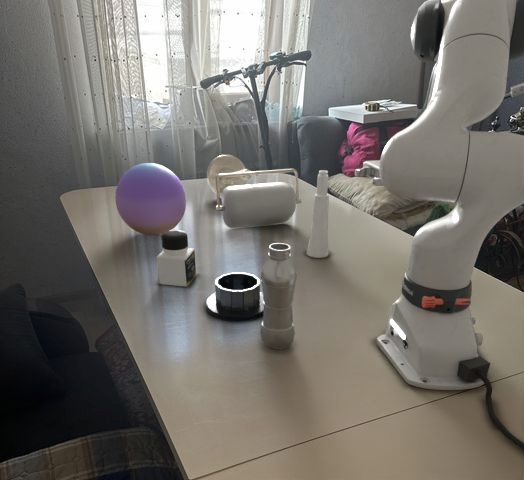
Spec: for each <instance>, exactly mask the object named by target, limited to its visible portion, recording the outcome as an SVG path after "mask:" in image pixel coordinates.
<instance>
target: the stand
mask: <svg viewBox="0 0 524 480" xmlns="http://www.w3.org/2000/svg"><path fill="white" fill-rule="evenodd" d="M214 291H215V292H213V293H211V294H210V295H209V296H208V297H207V299H206V301H205V302H206V303H205V304H206V305H205V306H206V307H205V308H206V311H207V312H208V313H209V315H211V317H214V318H216V319H219V320H222V321H226V322H238V323H239V322H248V321H249V322H250V321H253V320H256V319H259V318H261V317H263V311H264V300H263V292H261V278H259V277H257V276H256V275H255V274H251V273H247V272H229V273H224V274H222V275H220V276H219V277H217V278H215V281H214Z"/></svg>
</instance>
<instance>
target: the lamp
mask: <svg viewBox="0 0 524 480" xmlns="http://www.w3.org/2000/svg"><path fill="white" fill-rule="evenodd" d="M285 173H294V182H295V183H294V184H295V187H293V186H292V185H291V184H289V183H287V182H284V181H280V182H279V181H275V182H263V183H262V182H261V183H251V184H247V181H248V180H250V179H251V178H252V177H253V176H259V175H270V174H285ZM206 181H207V184H208V186H209V188H210V190H211V191H212V192H213V193H214V194H215V195H216V204H217V205H216V206H215V211H216V212H217V213H218V212H222V219H223V223H224V225H226V227H228V228H229V229H242V228H252V227H260V226H270V225H278V224H279V225H280V224H284V223H286V222H288V221H289V220H290V219H291V218H292V217H293V215H294V213H295V212H296V208H297V205H298V204H302V198H300V192H299V174H298V170H297V169H295V168H283V169H282V168H281V169H272V170H256V171H255V170H254V171H251V170H250V169H249V168H246V166H245V164H244V163H243V161H241V159H240V158H239V157H237V156H235V155H233V154H221V155H219V156H217V157H215V158H214V159H213V160H211V162H210V163H209V165H208V167H207V169H206Z"/></svg>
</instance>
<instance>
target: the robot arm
mask: <svg viewBox="0 0 524 480" xmlns="http://www.w3.org/2000/svg"><path fill="white" fill-rule="evenodd" d="M410 41H411V46H412V50H413V54H414V56H415V57H416V58H417V59H418V61H420V62H424V63H429V64H434V63H435V64H434V66H433V68H432V71H431V73H430V74H431V75H430V78H429V82H428V88H427V92H426V95H425V101H424V104H423V107H422V110H421V111H420V113H419V115H418V118H417V119H415V120H414V121H413V122H412V123H411V124H410V125H409V126H407V127H406V128H404V129H402V130H400V131H398V132H396V133H395V134H394V135H393V136H391V138H390V139H388V141H387V143H386V145H385V146H384V148H383V150H382V152H381V155H380V159H378V160H377V159H376V160H366V161H364V162H363V164H362V167H361V168H356V169H355V170H354V176H355V177H357V178H363V177H364V176H365V177H368V178H369V179H372V185H373V186H375V187H384V188H385V189H386V191H388V193H389V194H392V195H396V196H399V197H403V198H407V199H411V200H414V201H429V202H440V203H441V202H443V203H454V204H456V205H455V207H454V208H453V209H451V211H450V212H449V213H448V214H446V215H443V216H442V217H440V218H436V219H434V220H431V221H428V222H427V223H425V224H424V225H422V226H421V227H420V228H419V229H418V230H417V231H416V233H415V234H414V236H413V237H412V243H411V248H410V254H409V261H408V266H407V270H405V273H404V276H403V279H402V282H401V295H400V296H399V297H398V298H397V299H396V300H395V301H394V302H393V303H392V304H391V306H390V311H389V315H388V319H387V324H386V328H385V332H384V333H383V334H381V335H379V336H378V337H377V338H376V341H375V342H376V345H377V346H378V348H379V349H380V350H381V351H382V353H383V354H384V355H385V357H386V358H387V359H388V360H389V362H390V363H391V365H392V366H393V368H394V369H395V370H396V371H397V373H398V374H399V375H400V376H401V378H402V379H403V380H404V381H405V382H406V383H407V384H408V385H410V386H413V387H417V388H421V389H427V390H437V391H462V390H471V389H476V388H479V387H481V386H483V385H484V386H485V396H484V397H485V404H486V408H487V412H488V416H489V418H490V420H491V422H492V423H493V424H494V426H495V427H496V428H497V429H498V430H499V431H500V432H501V433H502V434H503V436H504V437H505V438H506V439H507V440H509V441H510V442H511V443H512V444H514V445H515V446H516V447H518V448H519V449H521V450H523V451H524V442H523V441H521V440H520V439H519V438H518V437H516V436H515V435H514V434H513V433H512V432H510V430H508V428H507V427H506V426H505V424H503V423H502V422H501V421H500V420H499V418H498V416H497V415H496V412H495V410H494V406H493V405H494V404H493V399H492V395H493V385H492V383H491V381H490V379H489V378H488V377H487V376H488V373H489V370H490V367H491V362H490V361H488V360H487V359H486V358H484V357H482V356H481V355H479V354H478V347H480V346H482V344H483V341H484V340H483V339H484V335H483V333H481V332H475V327H474V326H476V322H477V321H476V320H477V319H476V317H473V316H472V313H471V303H472V302H471V301H472V295H473V288H472V286H473V281H472V275H473V272H474V268H475V265H476V262H477V258H478V255H479V252H480V250H481V247H482V245H483V243H484V240H485V239H486V237H487V236H488V234H489V233H490V232H491V230H492V229H493V228H494V226H495V225H496V224H497V223H499V221H500V220H501V219H502V218H504V217H505V216H507V214H509V213H510V212H512V211H513V210H514V209H516V208H518V207H519V206H521V205H524V135H522V134H518V133H515V132H503V131H502V132H501V131H500V132H499V131H480V130H468V129H467V128H468V127H470V126H472V125H475V124H477V123H480V122H481V121H483V120H485V119H487V118H488V117H489V116H490V115H492V114H493V113H494V112H495V111H496V110H498V108H499V107H500V106H501V104H502V103H503V101H504V98H505V97H506V96H505V95H506V90H507V81H508V72H509V71H508V70H509V62H510V61H513V60H517V59H520V58H523V57H524V0H426V1H424V2H423V3H422V4H421V5H420V6H419V7H418V9H417V13H416V14H415V16H414V18H413V21H412V25H411V30H410Z"/></svg>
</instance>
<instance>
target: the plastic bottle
mask: <svg viewBox="0 0 524 480" xmlns="http://www.w3.org/2000/svg"><path fill="white" fill-rule="evenodd" d="M267 255H268V258H269V259H268V260H267V261H266V262H265V264H264V265H263V267H262V268H261V271H260V283H261V288H262V293H263V300H264V311H263V316H262V321H261V323H260V330H259V331H260V332H259V334H260V338H261V341H262V343H263V344H264V346H266V347H268V348H271V349H274V350H275V349H276V350H277V349H278V350H281V349H285V348H288V347H289V346H291V344H292V343H293V342H294V340H295V339H294V338H295V334H296V333H295V325H294V317H293V304H294V303H293V302H294V293H295V290H296V289H295V288H296V283H297V276H298V275H297V270H296V268H295V267H294V265H293V263H292V262H291V261H290V258H291V246H290V245H289V244H287V243H282V242H276V243H275V242H274V243H271V244H270V245H269V248H268V254H267Z"/></svg>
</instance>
